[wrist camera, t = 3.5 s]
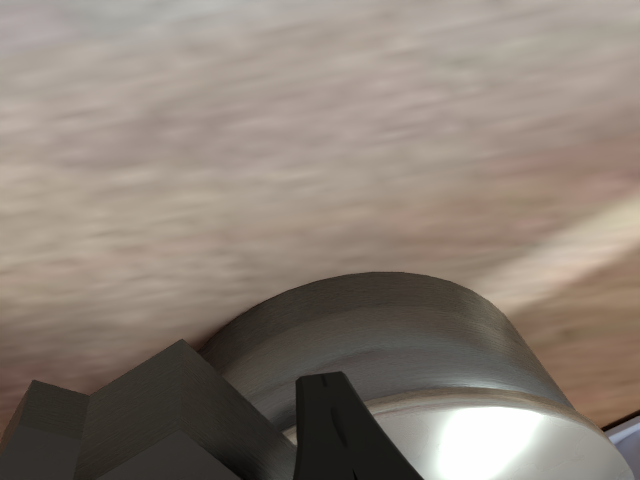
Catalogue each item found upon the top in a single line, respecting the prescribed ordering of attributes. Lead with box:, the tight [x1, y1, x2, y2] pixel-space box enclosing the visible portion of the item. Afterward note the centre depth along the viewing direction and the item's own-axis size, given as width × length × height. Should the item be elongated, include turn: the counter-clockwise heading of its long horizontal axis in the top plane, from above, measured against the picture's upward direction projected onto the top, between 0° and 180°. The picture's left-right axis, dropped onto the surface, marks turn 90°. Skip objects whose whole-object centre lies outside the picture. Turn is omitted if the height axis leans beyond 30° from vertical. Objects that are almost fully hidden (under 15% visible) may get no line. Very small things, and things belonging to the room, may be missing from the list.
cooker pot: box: [0, 272, 575, 480], centre depth 21 cm, size 21×16×6 cm
